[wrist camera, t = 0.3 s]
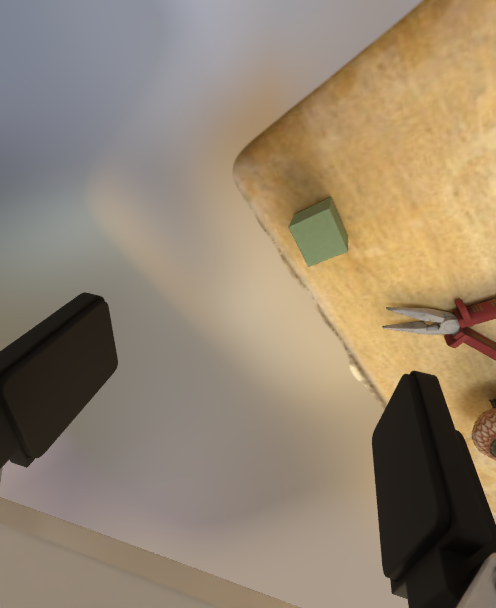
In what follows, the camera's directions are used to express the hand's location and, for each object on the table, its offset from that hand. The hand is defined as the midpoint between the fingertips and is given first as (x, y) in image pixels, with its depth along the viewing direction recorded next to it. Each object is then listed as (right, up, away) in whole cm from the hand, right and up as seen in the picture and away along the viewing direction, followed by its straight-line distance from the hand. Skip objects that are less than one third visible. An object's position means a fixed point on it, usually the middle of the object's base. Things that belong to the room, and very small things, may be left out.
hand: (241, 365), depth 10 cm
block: (+9, +11, +27) cm, 30 cm away
